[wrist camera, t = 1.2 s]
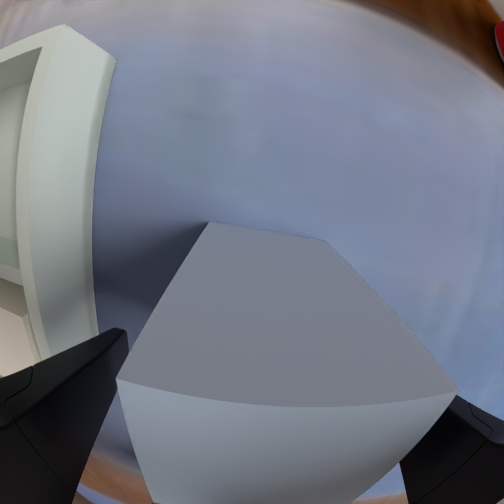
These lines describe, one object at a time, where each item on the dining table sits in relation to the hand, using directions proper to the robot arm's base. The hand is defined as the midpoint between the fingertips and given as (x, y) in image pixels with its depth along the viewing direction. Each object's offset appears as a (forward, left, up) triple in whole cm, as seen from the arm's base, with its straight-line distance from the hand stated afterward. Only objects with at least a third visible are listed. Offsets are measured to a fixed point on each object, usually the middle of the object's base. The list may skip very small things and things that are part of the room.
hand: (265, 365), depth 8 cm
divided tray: (0, +15, -6) cm, 16 cm away
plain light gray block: (0, 0, -6) cm, 6 cm away
